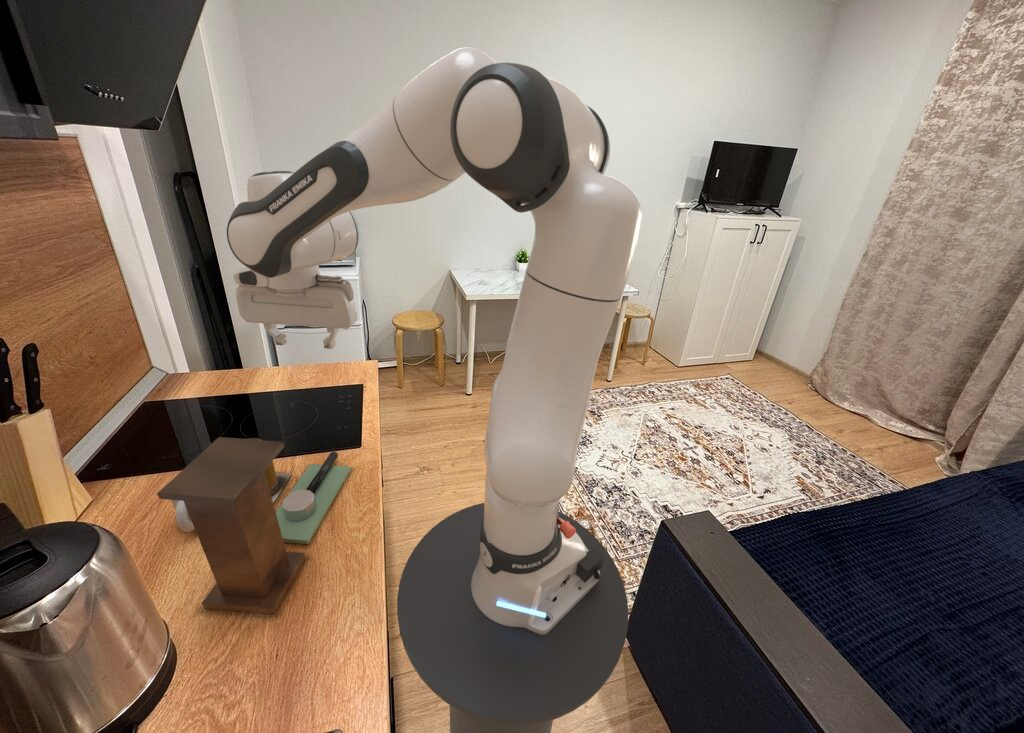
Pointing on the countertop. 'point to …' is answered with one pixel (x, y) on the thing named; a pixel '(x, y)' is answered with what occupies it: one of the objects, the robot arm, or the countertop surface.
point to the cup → (182, 516)
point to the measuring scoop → (306, 495)
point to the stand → (237, 524)
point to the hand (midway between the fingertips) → (305, 345)
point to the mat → (323, 500)
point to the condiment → (274, 479)
